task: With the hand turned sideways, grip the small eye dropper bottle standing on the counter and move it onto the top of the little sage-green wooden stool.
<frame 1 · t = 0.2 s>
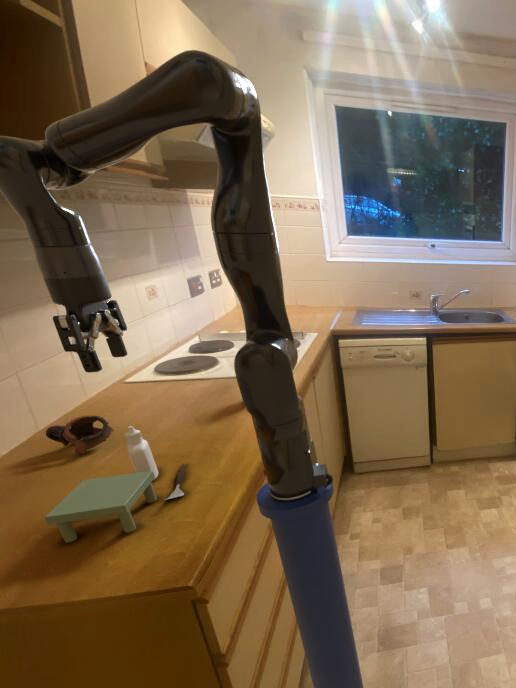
hand: (108, 363, 79), 27 cm above the countertop, tool pointing down, fingers open, 8 cm apart
food container: (258, 397, 130), on the countertop
pottery mug: (86, 446, 104), on the countertop
stool: (114, 518, 80), on the countertop
fork: (179, 485, 90), on the countertop
eye dropper bottle: (149, 477, 92), on the countertop
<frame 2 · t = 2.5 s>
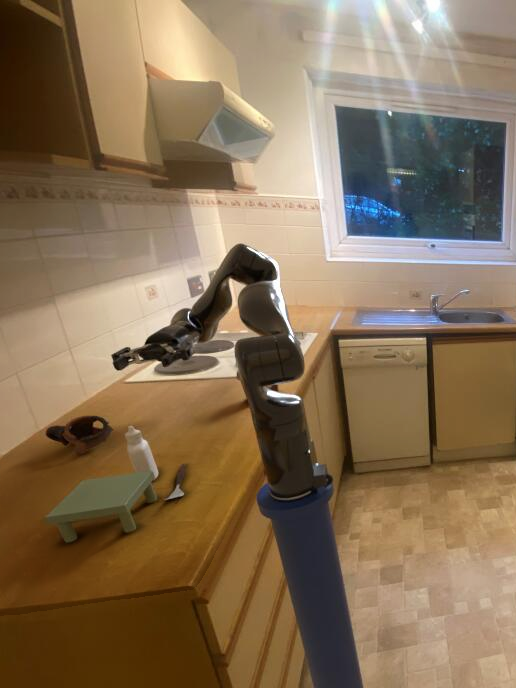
hand: (140, 364, 94), 22 cm above the countertop, tool horizontal, fingers open, 8 cm apart
nothing on the countertop moved.
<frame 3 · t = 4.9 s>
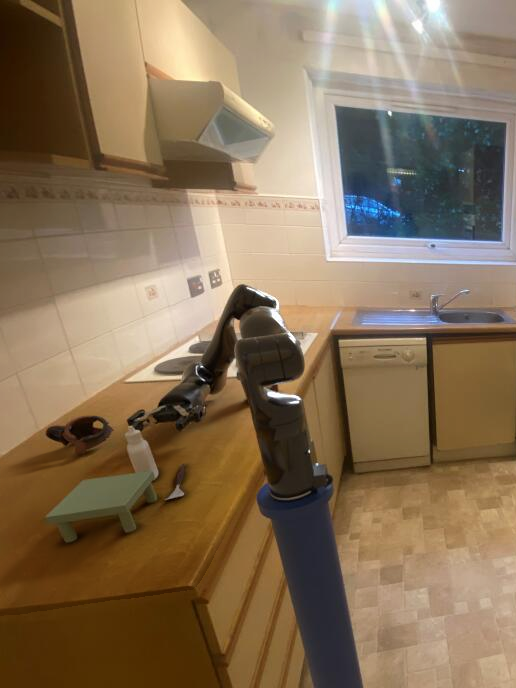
hand: (155, 430, 97), 7 cm above the countertop, tool horizontal, fingers open, 8 cm apart
nothing on the countertop moved.
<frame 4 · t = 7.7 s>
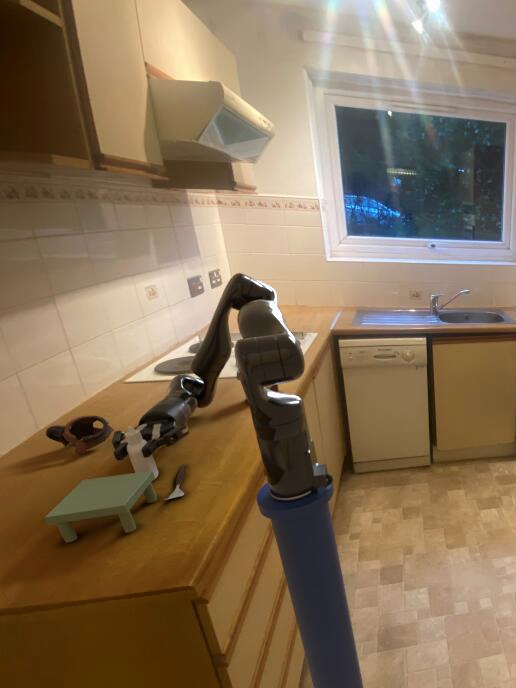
hand: (131, 454, 87), 7 cm above the countertop, tool horizontal, fingers closed on eye dropper bottle, 4 cm apart
eye dropper bottle: (149, 477, 92), on the countertop, touching gripper
everything else where it was.
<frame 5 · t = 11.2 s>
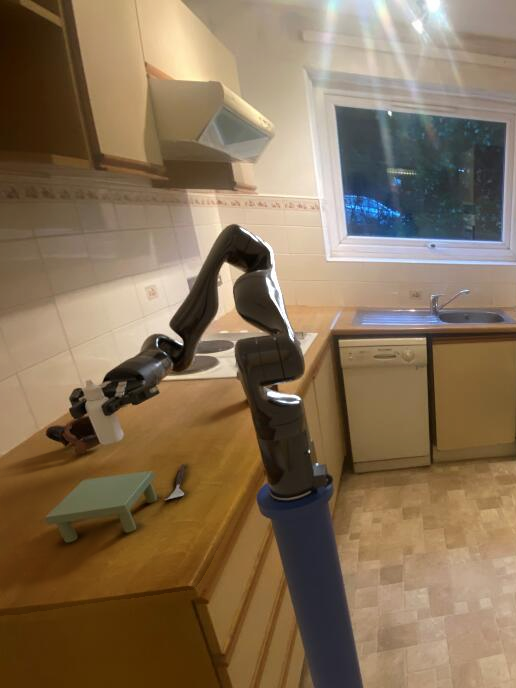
hand: (90, 412, 76), 20 cm above the countertop, tool horizontal, fingers closed on eye dropper bottle, 4 cm apart
eye dropper bottle: (112, 439, 82), point 13 cm above the countertop, touching gripper
everything else where it was.
when the fingers open (13 cm above the countertop, at t = 14.6 s): eye dropper bottle stays where it is, resting on stool.
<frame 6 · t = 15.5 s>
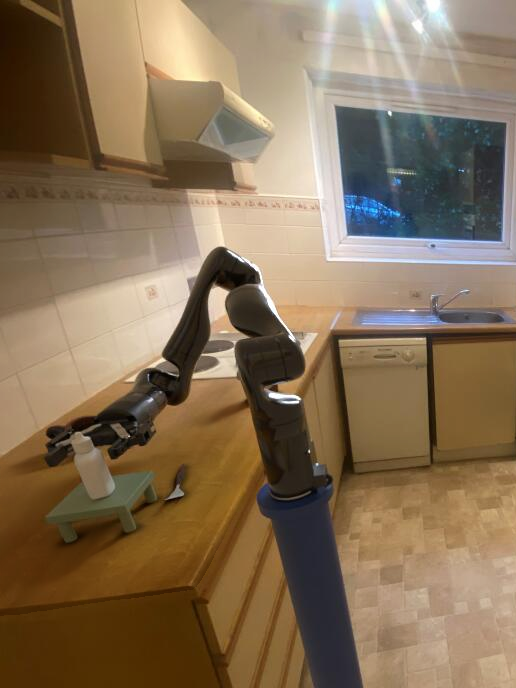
hand: (81, 458, 73), 14 cm above the countertop, tool horizontal, fingers open, 8 cm apart
eye dropper bottle: (103, 492, 78), point 6 cm above the countertop, touching stool
everything else where it was.
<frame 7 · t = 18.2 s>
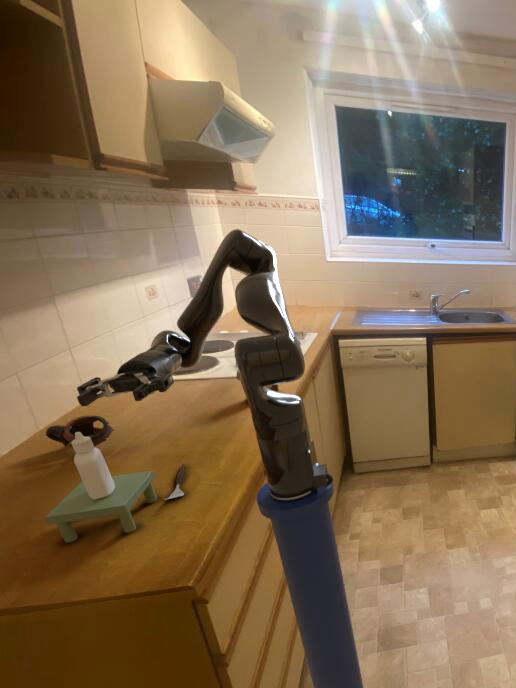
hand: (109, 399, 82), 19 cm above the countertop, tool horizontal, fingers open, 8 cm apart
nothing on the countertop moved.
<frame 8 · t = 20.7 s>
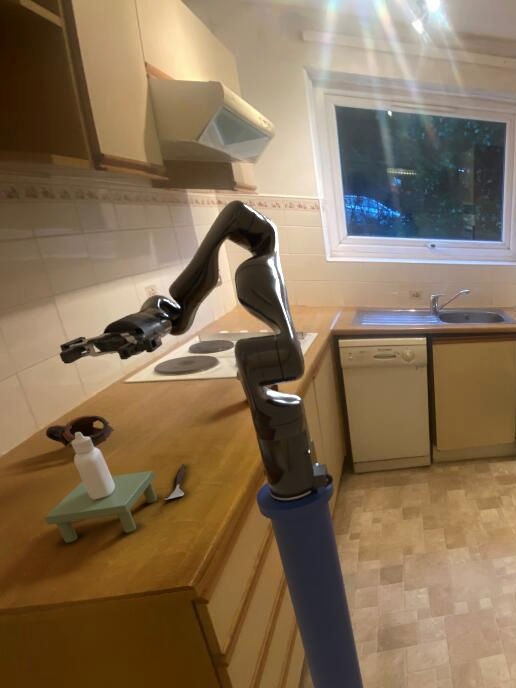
hand: (93, 356, 79), 28 cm above the countertop, tool horizontal, fingers open, 8 cm apart
nothing on the countertop moved.
at the end: eye dropper bottle inside the target area on the stool (0.1 cm from its centre), point 5.8 cm above the stool's base; eye dropper bottle tilted 0°; the gripper is holding nothing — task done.
